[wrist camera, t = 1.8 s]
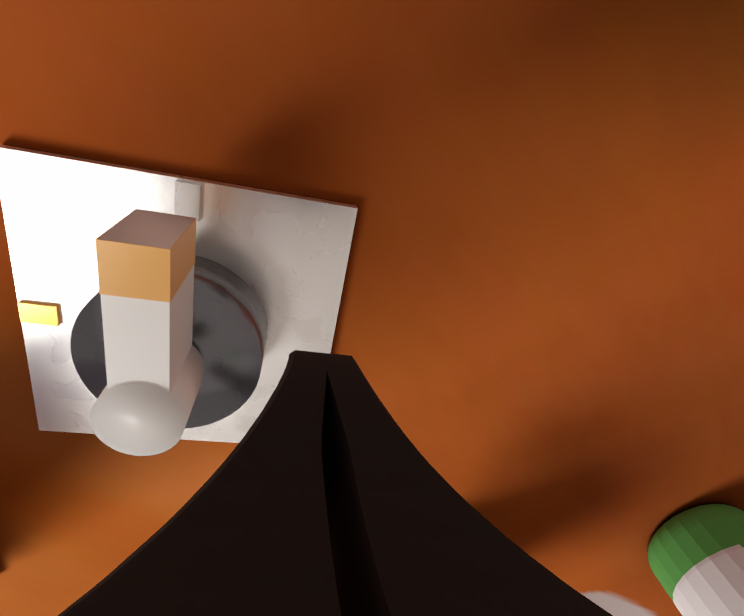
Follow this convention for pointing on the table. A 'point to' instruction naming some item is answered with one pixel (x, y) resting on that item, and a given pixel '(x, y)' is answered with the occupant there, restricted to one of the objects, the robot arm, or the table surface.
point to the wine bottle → (702, 560)
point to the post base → (211, 281)
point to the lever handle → (147, 332)
